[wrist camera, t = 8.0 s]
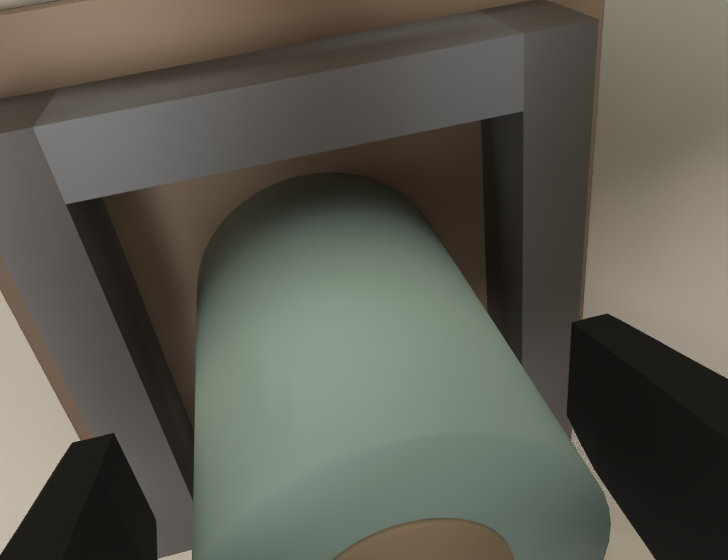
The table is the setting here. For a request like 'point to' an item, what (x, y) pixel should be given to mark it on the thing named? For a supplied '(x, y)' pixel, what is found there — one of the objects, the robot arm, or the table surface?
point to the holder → (276, 177)
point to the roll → (368, 396)
